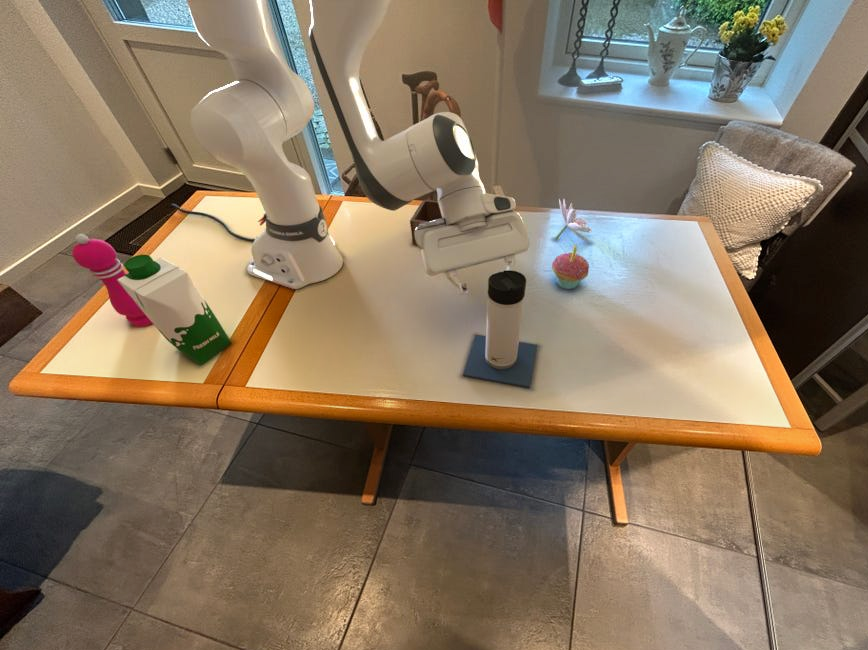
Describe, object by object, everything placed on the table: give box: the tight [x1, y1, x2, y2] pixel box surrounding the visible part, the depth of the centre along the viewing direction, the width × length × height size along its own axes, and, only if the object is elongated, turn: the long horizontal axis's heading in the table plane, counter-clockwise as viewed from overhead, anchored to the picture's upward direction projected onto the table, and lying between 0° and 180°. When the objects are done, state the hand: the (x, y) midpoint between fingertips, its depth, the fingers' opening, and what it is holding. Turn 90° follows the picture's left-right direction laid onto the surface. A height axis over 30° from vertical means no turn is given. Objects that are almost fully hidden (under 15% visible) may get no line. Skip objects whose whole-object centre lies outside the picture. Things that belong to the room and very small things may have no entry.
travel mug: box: [485, 270, 527, 370], centre depth 72 cm, size 6×7×20 cm
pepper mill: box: [71, 233, 154, 328], centre depth 79 cm, size 7×7×20 cm
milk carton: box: [118, 254, 233, 366], centre depth 73 cm, size 9×9×20 cm
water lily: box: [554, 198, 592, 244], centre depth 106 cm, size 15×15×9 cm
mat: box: [462, 334, 538, 389], centre depth 80 cm, size 13×11×1 cm
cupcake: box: [551, 243, 590, 290], centre depth 92 cm, size 9×8×12 cm
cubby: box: [409, 199, 442, 246], centre depth 106 cm, size 12×11×7 cm
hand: (487, 287), depth 74 cm, fingers open, 8 cm apart
